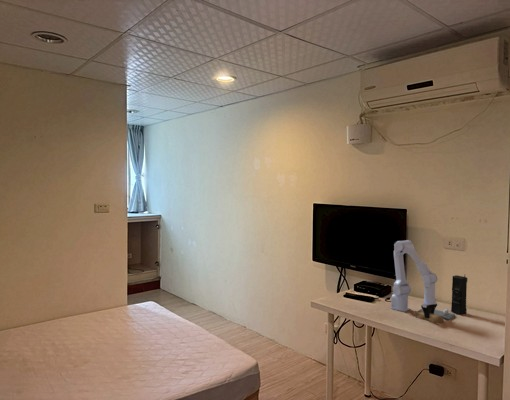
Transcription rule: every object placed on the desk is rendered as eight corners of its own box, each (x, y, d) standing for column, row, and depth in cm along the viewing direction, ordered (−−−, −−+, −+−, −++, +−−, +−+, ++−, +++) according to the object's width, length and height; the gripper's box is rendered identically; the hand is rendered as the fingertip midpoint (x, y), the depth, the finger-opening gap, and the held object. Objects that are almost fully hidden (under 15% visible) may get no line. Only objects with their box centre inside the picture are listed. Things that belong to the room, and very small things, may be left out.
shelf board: (415, 317, 222) (415, 312, 222) (419, 315, 226) (419, 310, 226) (439, 323, 212) (439, 318, 212) (443, 321, 216) (443, 316, 216)
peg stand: (417, 312, 230) (418, 306, 229) (424, 309, 236) (424, 302, 236) (449, 320, 217) (449, 313, 216) (455, 316, 223) (455, 309, 223)
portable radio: (448, 311, 232) (449, 271, 231) (455, 310, 235) (456, 270, 233) (460, 315, 225) (461, 274, 224) (467, 313, 228) (468, 273, 226)
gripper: (431, 298, 210) (431, 321, 211) (441, 292, 220) (440, 315, 221) (419, 295, 215) (418, 318, 216) (429, 290, 225) (428, 312, 226)
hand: (429, 316), depth 219 cm, fingers closed on shelf board, 5 cm apart
